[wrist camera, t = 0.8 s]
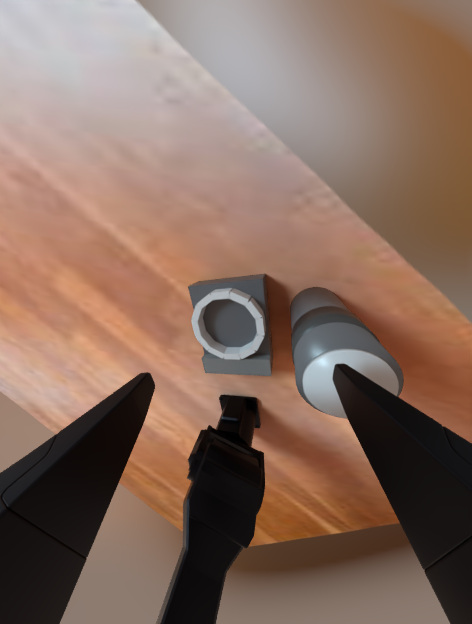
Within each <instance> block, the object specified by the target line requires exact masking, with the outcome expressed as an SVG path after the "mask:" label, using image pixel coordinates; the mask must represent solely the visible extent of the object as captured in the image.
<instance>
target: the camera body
mask: <svg viewBox="0 0 472 624" xmlns="http://www.w3.org/2000/svg"><path fill="white" fill-rule="evenodd" d="M188 288H189V292H190V296H191V300H192V304H193V308H194V313H193V316H192V319H191V320H192V321H191V322H192V326H193V330H194V334H195V337H196V339H197V340H198V341H199V342H200V343H201V344H202V346H203V349H204V353H205V354H204V356H203V357H202V362H203V366H204V370H205V373H216V374H237V375H258V376H271V374H272V364H273V350H272V340H271V330H270V319H269V309H268V298H267V288H266V277H265V274H259V275H250V276H242V277H233V278H224V279H215V280H207V281H199V282H196V283H194V284H192V285H190V286H188Z"/></svg>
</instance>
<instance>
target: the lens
mask: <svg viewBox="0 0 472 624" xmlns="http://www.w3.org/2000/svg"><path fill="white" fill-rule="evenodd" d="M290 314H291V326H292V333H291V341H292V356H293V362H294V366H295V377H296V385H297V388H298V391H299V393H300V394H301V396H302V397H303V399H304V400H305V401H306V402H307V403H308V404H310V405H311V406H312V407H314V408H315V409H317V410H319V411H321V412H323V413H326V414H329V415H332V416H335V417H339V418H347V416H346V414H345V411H344V409H343V406H342V404H341V401H340V398H339V396H338V393H337V391H336V388H335V385H334V383H333V379H332V377H333V371H334V366H335V364H342V363H344V364H347V365H348V366H350V367H351V368H353V369H355V370H356V371H358V372H359V373H361V374H362V375H364V376H366V377H367V378H369V379H370V380H372V381H374V382H375V383H377V384H378V385H380V386H381V387H383V388H385V389H386V390H388V391H389V392H391V393H392V394H394V395H396V396H397V397H398V396H399V395H400V393H401V391H402V388H403V381H404V380H403V373H402V370H401V368H400V366H399V364H398V363H397V362H396V360H395V359H394V358H393V357H392V356H391V355H390V354H389V353H388V351H387V350H386V349H385V348H384V347H383V346H382V345H381V344H380V342H379V340H378V339H377V337H376V336H375V335H374V334H373V333H372V332H371V331H370V330H369V329H368V328H367V327H366V326H365V324H364V323H363V322H362V321H361V320H360V319H359V318H358V317H357V316H356V315H355V314H353V313H352V312H350V311H349V309H348V308H347V307H346V306H345V305H344V304H343V303H342V302H341V301H340V300H339V299H338V298H337V297H336V295H335V294H334V293H332V292H331V291H330V290H328V289H325V288H321V287H312V288H308V289H305V290H303V291H301V292H300V293H298V294H297V295H296V296H295V298H294V299H293V301H292V303H291V307H290ZM347 419H348V418H347Z"/></svg>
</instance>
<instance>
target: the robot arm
mask: <svg viewBox="0 0 472 624" xmlns="http://www.w3.org/2000/svg"><path fill="white" fill-rule="evenodd" d="M332 379H333V383H334V385H335V388H336V391H337V393H338V396H339V398H340V401H341V404H342V406H343V409H344V411H345V414H346V416H347V418H348V420H349V422H350V424H351V426H352V428H353V430H354V432H355V434H356V436H357V438H358V440H359V442H360V444H361V446H362V448H363V450H364V452H365V454H366V456H367V458H368V460H369V462H370V464H371V466H372V468H373V470H374V472H375V474H376V476H377V478H378V480H379V482H380V484H381V486H382V488H383V490H384V492H385V494H386V496H387V498H388V500H389V502H390V504H391V506H392V508H393V510H394V512H395V514H396V516H397V518H398V520H399V522H400V524H401V526H402V528H403V530H404V532H405V534H406V536H407V538H408V540H409V542H410V544H411V546H412V548H413V550H414V552H415V554H416V556H417V557H418V560H419V561H420V564H421V566H422V568H423V569H424V570H425V574H426V576H427V578H428V580H429V582H430V584H431V586H432V588H433V590H434V592H435V594H436V596H437V598H438V600H439V602H440V603H441V606H442V608H443V609H444V612H445V614H446V616H447V618H448V620H449V622H450V624H472V443H470V442H468V441H467V440H465V439H463V438H462V437H460V436H459V435H457V434H455V433H454V432H452V431H451V430H449V429H448V428H446V427H442V425H441V424H440V423H438V422H436V421H435V420H433V419H432V418H430V417H429V416H427V415H425V414H424V413H422V412H421V411H419V410H418V409H416V408H414V407H413V406H411V405H410V404H408V403H407V402H405V401H403V400H402V399H400V398H399V397H397V396H396V395H394V394H392V393H391V392H389V391H388V390H386V389H385V388H383V387H381V386H380V385H378V384H377V383H375V382H374V381H372V380H370V379H369V378H367V377H366V376H364V375H362V374H361V373H359V372H358V371H356V370H355V369H353V368H351V367H350V366H348V365H347V364H344V363H342V364H335V366H334V371H333V377H332ZM154 389H155V383H154V381H153V378H152V376H151V374H150V373H140V374H139V375H137V376H136V377H135V378H133V379H132V380H131V381H129V382H128V383H126V384H125V385H124V386H122V387H121V388H119V389H118V390H117V391H115V392H114V393H113V394H111V395H110V396H108V397H107V398H106V399H104V400H103V401H102V402H100V403H99V404H97V405H96V406H95V407H93V408H92V409H90V410H89V411H88V412H86V413H85V414H84V415H82V416H81V417H79V418H78V419H77V420H75V421H74V422H72V423H71V424H70V425H68V426H67V427H66V428H64V429H63V430H61V431H60V432H59V433H58V434H56V435H54V436H53V437H52V438H50V439H49V440H48V441H46V442H45V443H43V444H42V445H41V446H39V447H38V448H36V449H35V450H33V451H32V452H31V453H29V454H28V455H26V456H25V457H23V458H22V459H20V460H19V461H18V462H16V463H15V464H13V465H12V466H10V467H9V468H7V469H6V470H4V471H3V472H1V473H0V624H59V623H60V621H61V619H62V616H63V614H64V612H65V609H66V607H67V604H68V602H69V600H70V597H71V595H72V592H73V590H74V588H75V585H76V583H77V581H78V578H79V576H80V574H81V571H82V569H83V566H84V564H85V562H86V557H87V556H88V554H89V551H90V549H91V547H92V544H93V542H94V540H95V537H96V535H97V532H98V530H99V528H100V526H101V523H102V521H103V518H104V516H105V514H106V511H107V509H108V507H109V504H110V502H111V499H112V497H113V494H114V492H115V490H116V487H117V485H118V483H119V480H120V478H121V476H122V473H123V471H124V468H125V466H126V464H127V461H128V459H129V457H130V454H131V452H132V449H133V447H134V445H135V442H136V440H137V438H138V435H139V433H140V430H141V428H142V426H143V423H144V421H145V418H146V415H147V412H148V409H149V405H150V402H151V399H152V396H153V393H154ZM219 400H220V404H221V408H222V414H221V417H220V420H219V422H218V425H217V428H216V429H214V428H212V426H210V425H209V426H208V428H207V430H206V429H205V430H201V432H200V434H199V436H198V439H197V441H196V443H195V445H194V448H193V450H192V452H191V454H190V457H189V459H188V462H189V466H190V467H189V474H188V476H187V479H189V480H191V484H190V486H189V489H188V491H187V494H186V497H185V499H184V503H183V547H182V550H181V553H180V556H179V559H178V562H177V565H176V567H175V571H174V573H173V576H172V579H171V582H170V585H169V588H168V591H167V593H166V596H165V599H164V603H163V605H162V608H161V611H160V614H159V616H158V619H157V622H156V624H216V619H217V614H218V609H219V605H220V600H221V595H222V590H223V585H224V581H225V577H226V573H227V571H228V569H229V568H230V566H231V565H232V563H233V562H234V561H235V559H236V558H237V556H238V555H239V553H240V552H241V550H242V549H243V547H244V548H247V547H248V546H249V544H250V542H251V540H252V538H253V536H254V531H255V522H256V515H257V513H258V512H259V510H260V507H261V504H262V501H263V496H264V490H265V471H264V453H263V452H261V451H258V450H256V449H254V448H252V447H251V446H252V439H253V433H254V428H260V417H259V411H258V404H257V399H256V398H253V397H241V396H229V395H220V397H219Z"/></svg>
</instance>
